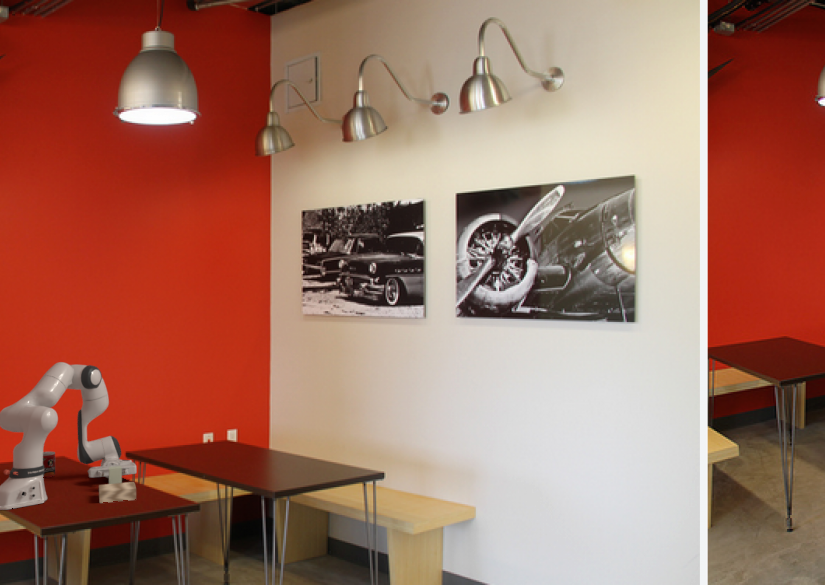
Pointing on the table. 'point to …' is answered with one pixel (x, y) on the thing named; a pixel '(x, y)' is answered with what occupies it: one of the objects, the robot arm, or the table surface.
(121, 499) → the birch slab
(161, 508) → the table surface
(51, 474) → the canned food
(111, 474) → the sage block
